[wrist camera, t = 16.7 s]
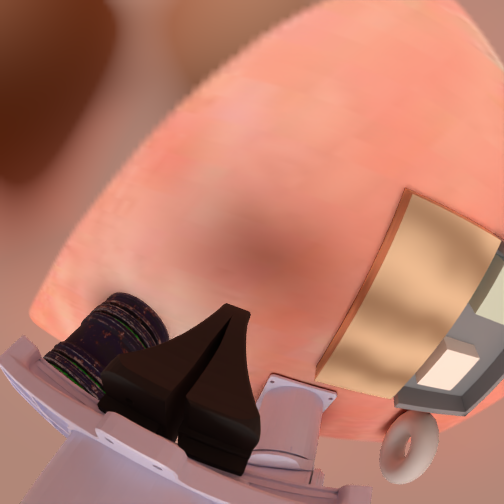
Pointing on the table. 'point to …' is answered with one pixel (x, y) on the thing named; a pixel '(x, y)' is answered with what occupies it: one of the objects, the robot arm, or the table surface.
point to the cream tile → (447, 364)
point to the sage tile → (491, 292)
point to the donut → (421, 448)
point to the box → (478, 377)
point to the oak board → (408, 297)
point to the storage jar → (106, 340)
